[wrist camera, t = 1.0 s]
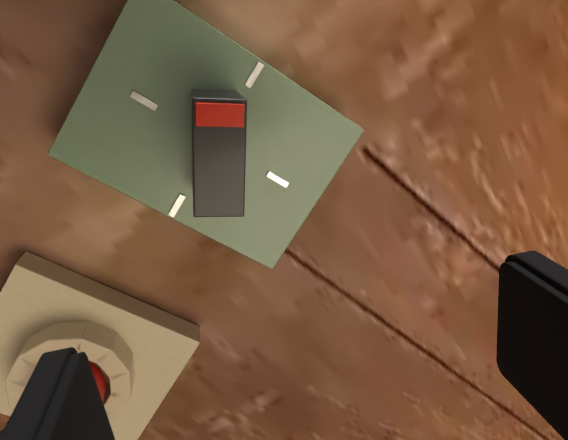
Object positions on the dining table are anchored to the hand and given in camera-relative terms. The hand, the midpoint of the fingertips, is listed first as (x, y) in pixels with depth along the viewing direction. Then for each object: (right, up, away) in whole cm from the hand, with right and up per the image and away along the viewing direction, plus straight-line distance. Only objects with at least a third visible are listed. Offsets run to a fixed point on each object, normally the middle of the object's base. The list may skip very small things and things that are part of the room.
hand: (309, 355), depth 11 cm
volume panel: (-5, +8, +18) cm, 21 cm away
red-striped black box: (-4, +7, +15) cm, 17 cm away
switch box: (-14, -6, +21) cm, 26 cm away
